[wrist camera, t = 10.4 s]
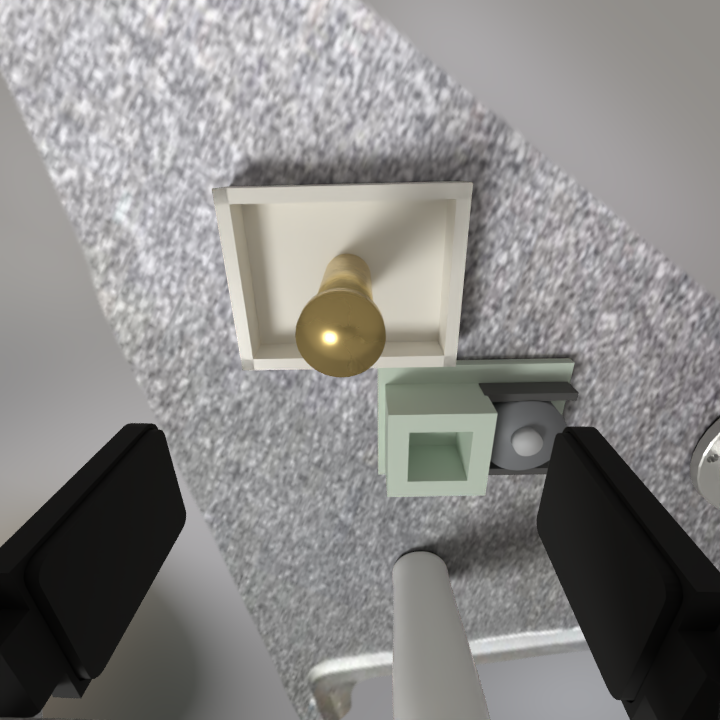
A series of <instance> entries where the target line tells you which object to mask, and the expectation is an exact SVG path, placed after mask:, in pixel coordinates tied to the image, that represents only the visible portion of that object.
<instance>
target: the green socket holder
mask: <svg viewBox="0 0 720 720" xmlns="http://www.w3.org/2000/svg"><path fill="white" fill-rule="evenodd" d="M573 368H574V362H573V361H572V360H571V359H570V358H547V359H492V360H456V367H405V368H378V474H386V486H387V497H416V496H485V492H486V486H487V479H488V475H527V474H547V470H548V466H549V462H550V457H551V453H552V448H553V444H554V439H555V436H556V434H557V433H562V432H563V430H564V429H565V428H566V427H567V425H566V422H565V420H564V418H563V416H562V414H563V410H564V405H565V401H567V400H577V397H578V392H577V391H576V390H575V389H574V388H573V387H572V386H571V385H570V380H571V376H572V372H573Z"/></svg>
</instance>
